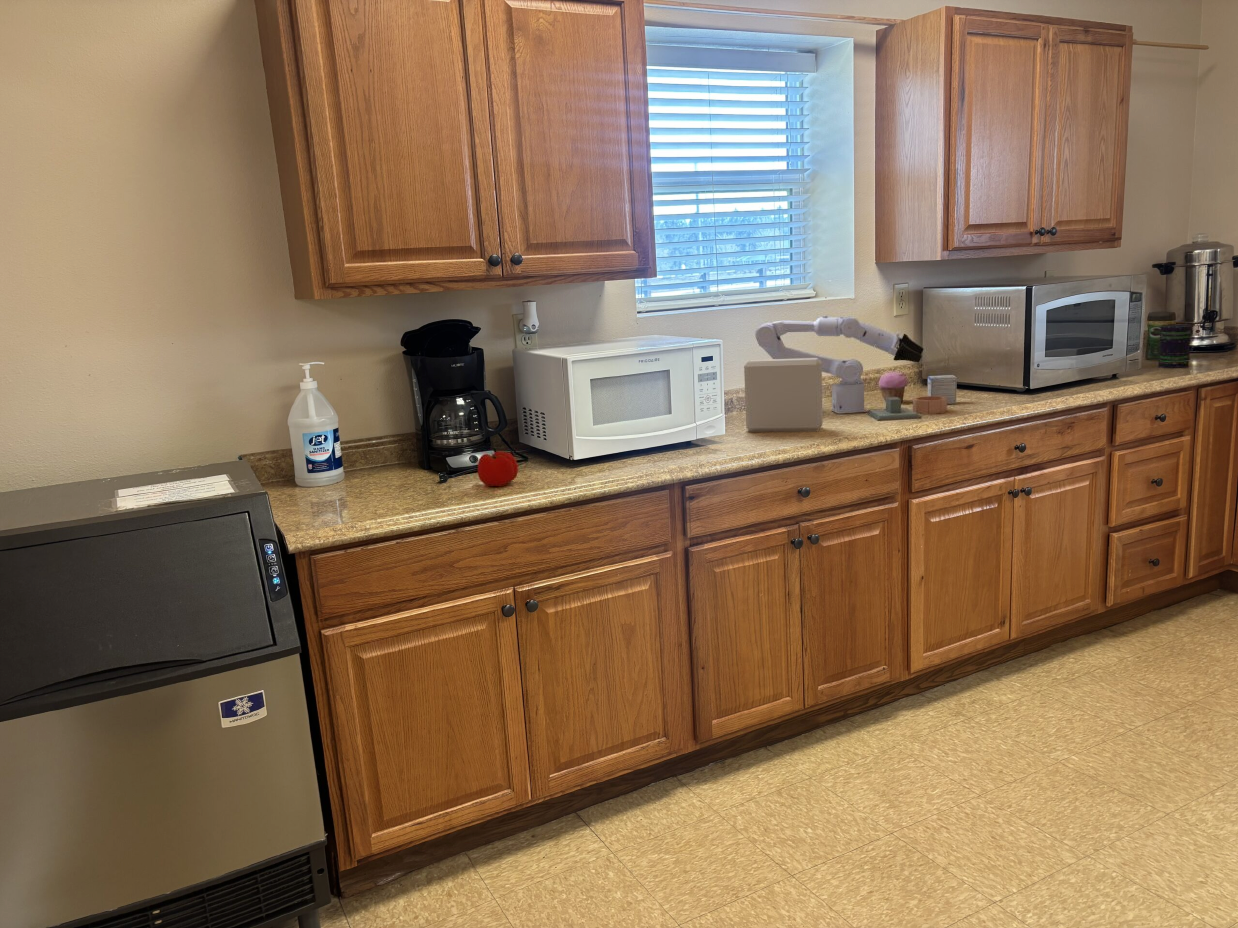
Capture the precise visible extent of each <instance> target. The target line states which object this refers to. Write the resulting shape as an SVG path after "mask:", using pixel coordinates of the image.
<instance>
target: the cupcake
mask: <svg viewBox="0 0 1238 928" xmlns="http://www.w3.org/2000/svg"><path fill="white" fill-rule="evenodd" d="M908 384H909V383H908V379H907V377H906V376H905V374H903V373H902V372H897V371H891V372H886V373H884V374H882V375H881V377H880V378H879V380H878V387H879V388H880V391H881V396H882V398H883V400H884V401H885V403H886V397H897V398H899V399H901V403H902V402H903V401H904V397H905V388H906V387H907V386H908Z"/></svg>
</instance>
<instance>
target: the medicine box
mask: <svg viewBox="0 0 1238 928" xmlns="http://www.w3.org/2000/svg"><path fill="white" fill-rule="evenodd" d="M957 378H958V377H957V376H955V375H954V374H950V375H949V374H948V375H930V376H929V375H928V376H927V396H942V397H945V398H947V405H955V404H957V390H958V389H957V388H958V387H957Z"/></svg>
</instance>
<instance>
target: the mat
mask: <svg viewBox="0 0 1238 928" xmlns="http://www.w3.org/2000/svg"><path fill="white" fill-rule="evenodd" d="M866 415H868V417H871V418H872V417H873V418H872V419H874V420H876V421H877V422H878V421H879V422H881V421H882V420H883V421H897V420H914V419H915V418H916V419H921V418H922V416H921V415H920V414H918V416H914V417H897V418H881V419H880V418H878V417H876V416H875V415H873V414H871V413H870V411H868V412H866ZM883 421H882V422H883Z"/></svg>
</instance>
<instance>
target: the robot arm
mask: <svg viewBox="0 0 1238 928" xmlns="http://www.w3.org/2000/svg"><path fill="white" fill-rule="evenodd" d="M754 333H755V339H756V341H757V344H758V346H759V347H760V348H761V349H762V350H764V351H765V353H767V355H769V356H770V358H771V359H798V358H818V359H819V360H820V361H821V362H822V373H826V374H830V375H832V376H834V377H837V378H840V379H841V380H840V381H839V383H834V384H832V388H831V395H832V397H831V401H832V404H831V407H832V408H831V410H832V411H833V412H835V413H836V414H851V413H852V414H853V413H867V412H869V410H868V409H866V408H865V380H863V378H861V377H862V375H863V372H864V366H863V364H862V363H861V362H860V360H857V359H856V358H855V359H854V358H853V359H848V360H847V359H845V360H844V359H841V358H840V359H839V358H833V357H828V356H824V355H820V354H816V353H811V352H807V351H803V350H799V349H795V348H791V347H786V346H785V344H784V342H783V340H782V338H781V336H782V337H783V336H784V335H786V334H787V333H815V334H816V335H817V336H818V337H840V336H842V335H843V336H844V337H845V338H847V339H851V338H853V339H855V340H858V341H860V343H863V344H866V345H868V346H870V347H873V348H876V349H878V350H880V351H883V352H885V353H887V354H889V355H890V356H893V361H895V362H897V361H908V362H913V363H920V361H921V360H922V357H923V356H922V354H923V352H924V348H923V347H922V346H920V345H919V344H918V343H916V342H915V341H913V339H911V338H910V337H909V336H908V335H907V333H903V336H900V333H901V332H900V331H897V332H896V334H894V333H892V332H890V331H887V330H884V329H882V328H880V327H877V326H874V325H872V324H870V323H869V324H868V323H866V322H863V321H859V320H858V319H857V318H856V317H853V316H847V317H845V318H844V316H843V315H840V317H834V316H833V317H828V315H825V314H823V316H822V317H818V318H817V319H816V320H815V321H808V320H805V321H804V320H785V319H784V320H779V321H778V320H777V321H773V322H772V321H767V322H765V323H763V324H760V325H759V326H758V327H757V328H756V330H755V332H754Z"/></svg>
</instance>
